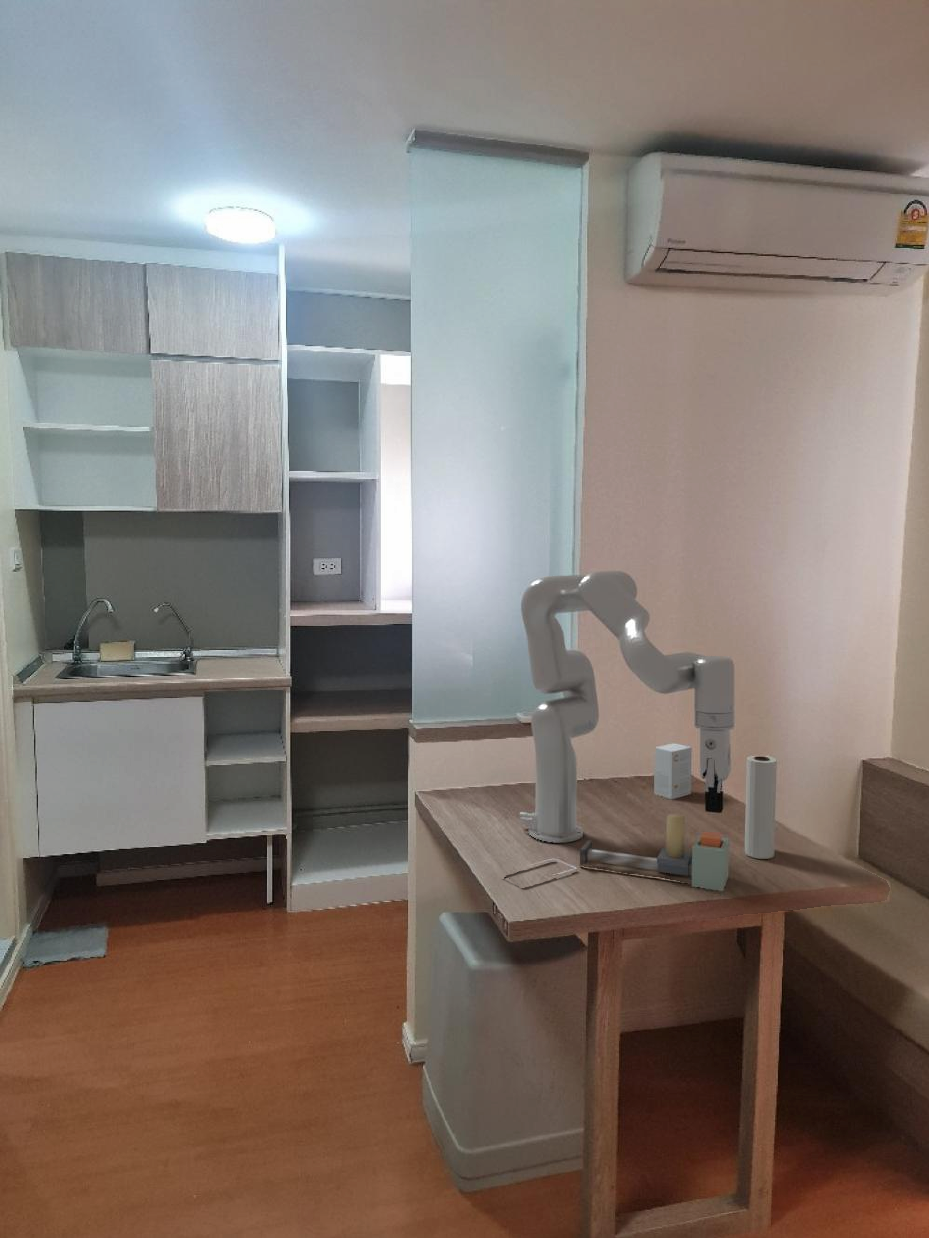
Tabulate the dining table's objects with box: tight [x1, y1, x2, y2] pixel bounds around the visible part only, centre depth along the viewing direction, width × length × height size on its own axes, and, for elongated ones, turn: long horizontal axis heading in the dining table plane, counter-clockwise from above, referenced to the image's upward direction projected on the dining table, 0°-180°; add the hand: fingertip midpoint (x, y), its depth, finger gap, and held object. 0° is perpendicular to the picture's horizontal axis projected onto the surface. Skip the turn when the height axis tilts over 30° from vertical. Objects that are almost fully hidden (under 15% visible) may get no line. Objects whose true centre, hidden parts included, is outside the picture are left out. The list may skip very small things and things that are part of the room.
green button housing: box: [691, 834, 730, 892], centre depth 174 cm, size 6×8×8 cm
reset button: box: [700, 831, 723, 848], centre depth 173 cm, size 4×4×3 cm
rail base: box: [579, 839, 692, 885], centre depth 180 cm, size 23×6×4 cm, turn 66°
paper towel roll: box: [744, 754, 778, 860], centre depth 188 cm, size 7×6×21 cm
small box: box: [653, 742, 693, 800], centre depth 234 cm, size 8×6×13 cm
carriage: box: [656, 813, 692, 876], centre depth 176 cm, size 6×6×11 cm
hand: (714, 810), depth 173 cm, fingers closed
